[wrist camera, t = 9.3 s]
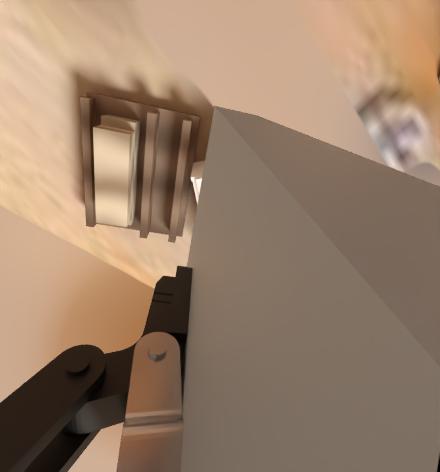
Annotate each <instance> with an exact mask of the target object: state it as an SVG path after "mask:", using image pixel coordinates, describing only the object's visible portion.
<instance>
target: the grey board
mask: <svg viewBox="0 0 440 472" xmlns="http://www.w3.org/2000/svg"><path fill="white" fill-rule="evenodd" d="M187 267H191V268H193V271H192V285H191V298H190V311H189V325H188V335H187V340H186V345H185V350H184V355H183V360H182V365H181V394H182V416H183V420H184V425H183V443H182V458H181V472H440V187H439V186H436V185H434V184H431V183H429V182H426V181H424V180H421V179H418V178H416V177H413V176H410V175H408V174H406V173H403V172H401V171H398V170H395V169H393V168H390V167H388V166H385V165H382V164H380V163H377V162H375V161H372V160H370V159H367V158H364V157H362V156H359V155H357V154H354V153H352V152H349V151H346V150H344V149H341V148H339V147H336V146H333V145H331V144H328V143H326V142H323V141H321V140H318V139H316V138H313V137H310V136H308V135H305V134H303V133H300V132H297V131H295V130H292V129H290V128H287V127H284V126H282V125H280V124H277V123H274V122H272V121H269V120H267V119H264V118H262V117H259V116H256V115H252V114H247V113H243V112H238V111H234V110H230V109H225V108H220V107H217V106H214V112H213V118H212V123H211V129H210V135H209V141H208V147H207V152H206V158H205V164H204V170H203V176H202V182H201V187H200V193H199V199H198V205H197V211H196V216H195V222H194V228H193V234H192V240H191V246H190V251H189V257H188V263H187Z"/></svg>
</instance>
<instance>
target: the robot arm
mask: <svg viewBox="0 0 440 472" xmlns="http://www.w3.org/2000/svg"><path fill="white" fill-rule="evenodd" d="M192 271H193V268H191V267H183V266H177V272H176V277H170V276H163V277H162V278H161V279H160V280H159V281H158V282H157V283H156V286H155V290H154V294H153V298H152V302H151V306H150V309H149V314H148V317H147V321H146V325H145V329H144V332H143V335H142V336H141V338H140V339H139V340H138V341H137V342H136V343H135V344H134V345H133V346H131V347H129V348H127V349H124V350H121V351H116V352H112V353H106V354H104V353H103V352H102V350H101V349H99V348H98V347H96V346H93V345H78V346H74V347H72V348H69V349H67V350H66V351H64V352H62V353H61V354H60V355H59V356H57V357H56V358H55V359H54V360H52V361H51V362H50V363H49V364H47V365H46V366H45V367H44V368H42V369H41V370H40V371H39V372H38V373H36V374H35V375H34V376H33V377H31V378H30V379H29V380H28V381H27V382H25V383H24V384H23V385H22V386H20V387H19V388H18V389H17V390H15V391H14V392H13V393H12V394H11V395H9V396H8V397H7V398H6V399H4V400H3V401H2V402H1V403H0V472H68V470H69V469H70V468H71V466H72V465H73V464H74V463H75V461H76V460H77V459H78V458H79V456H80V455H81V454H82V453H83V451H84V450H85V449H86V448H87V446H88V445H89V444H90V442H91V441H92V440H93V439H94V437H95V436H96V435H97V433H98V432H99V431H100V430H101V429H102V428H106V427H109V426H112V425H115V424H119V423H122V422H124V424H123V430H122V436H121V443H120V450H119V458H118V464H117V472H181V458H182V443H183V425H184V420H183V416H182V394H181V365H182V360H183V355H184V350H185V345H186V340H187V335H188V325H189V311H190V298H191V285H192Z"/></svg>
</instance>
